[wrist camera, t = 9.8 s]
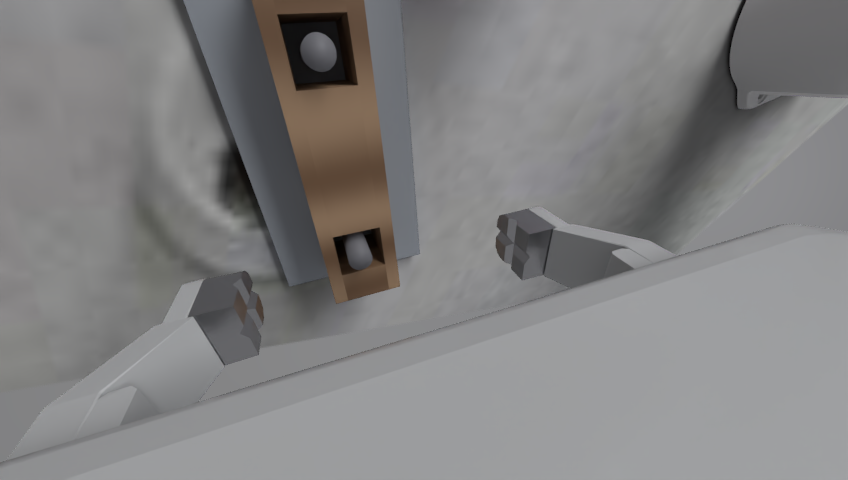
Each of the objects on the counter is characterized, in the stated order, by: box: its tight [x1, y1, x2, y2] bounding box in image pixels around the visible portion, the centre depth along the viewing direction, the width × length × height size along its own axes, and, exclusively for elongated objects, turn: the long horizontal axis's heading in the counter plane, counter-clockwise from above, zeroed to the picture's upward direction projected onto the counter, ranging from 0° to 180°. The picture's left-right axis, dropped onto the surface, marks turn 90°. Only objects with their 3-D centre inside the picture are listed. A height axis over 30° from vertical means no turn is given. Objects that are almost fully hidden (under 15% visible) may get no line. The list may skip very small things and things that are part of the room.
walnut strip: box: [252, 0, 400, 304], centre depth 21 cm, size 20×5×5 cm, turn 5°
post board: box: [183, 0, 420, 287], centre depth 21 cm, size 12×22×7 cm, turn 5°
